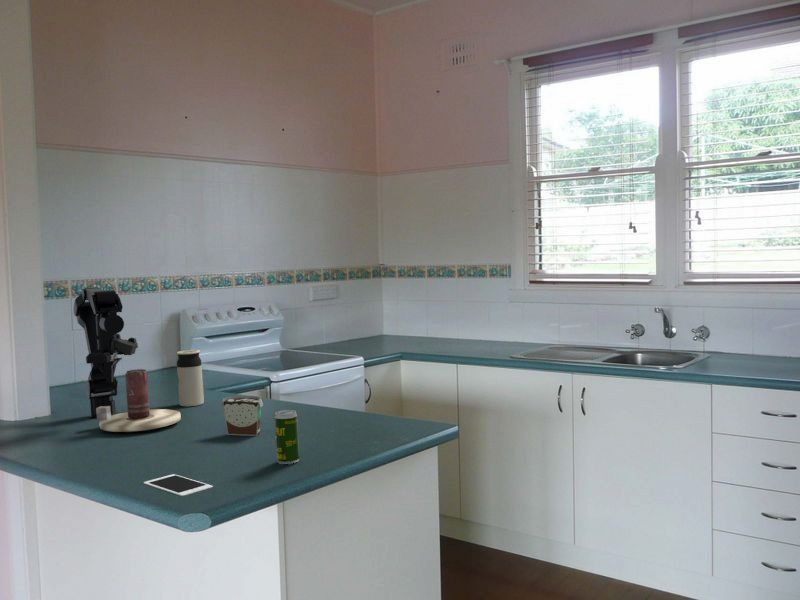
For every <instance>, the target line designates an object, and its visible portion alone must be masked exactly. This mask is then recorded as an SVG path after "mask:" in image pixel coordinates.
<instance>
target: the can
mask: <svg viewBox="0 0 800 600" xmlns="http://www.w3.org/2000/svg"><path fill="white" fill-rule="evenodd" d="M125 372H126V373H125V376H124V377H125V386H126V387H125V388H126V389H125V390H126V405H127V406H126V408H127V412H128V417H129V418H130V419H142V418H147V417H148V416H149V415H150V412H149V410H150V400H149V399H150V396H149V383H148V382H149V379H148V372H147V370H146V369H142V368H141V369H140V368H139V369H130V370H126V371H125Z"/></svg>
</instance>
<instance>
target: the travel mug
mask: <svg viewBox="0 0 800 600" xmlns="http://www.w3.org/2000/svg"><path fill="white" fill-rule="evenodd" d="M200 352H201V350H199V349H187V350H180V351H177V352H176V354H177V356H178V358H177V360H176V369H177V371H176V372H177V373H176V374H177V384H178V387H177V388H178V389H177V390H178V403H179V406H180V407H183V408H184V407H185V408H186V407H188V408H190V407H199V406H201V405H203V404H204V403H205V398H204V397H205V395H204V381H203V367H202V365H203V363H202V359H201V357H200Z"/></svg>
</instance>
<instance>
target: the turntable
mask: <svg viewBox="0 0 800 600" xmlns="http://www.w3.org/2000/svg"><path fill="white" fill-rule="evenodd" d="M149 412H150V415H149V416H148V417H147V418H142V419H130V418H129V417H128V411H126V412H121V413H115V414H113V415H111V410H110V406H100V407H98V408H96V413H97V417H96V421H99V429H100V430H102V431H106V432H114V433H115V432H116V433H118V432H121V433H130V432H129V431H140V432H142V431H141V430H147V431H150V430H149V429H153V430H156V429H155V428H157V429H160V428H163V427H167V426H170V425H174V424H176V423H178V422H179V421H181V420H182V416H181V414H182V413H181V412H180V411H179V410H174V409H167V408H164V409H163V408H162V409H161V408H155V409H154V408H153V409H149Z"/></svg>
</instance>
